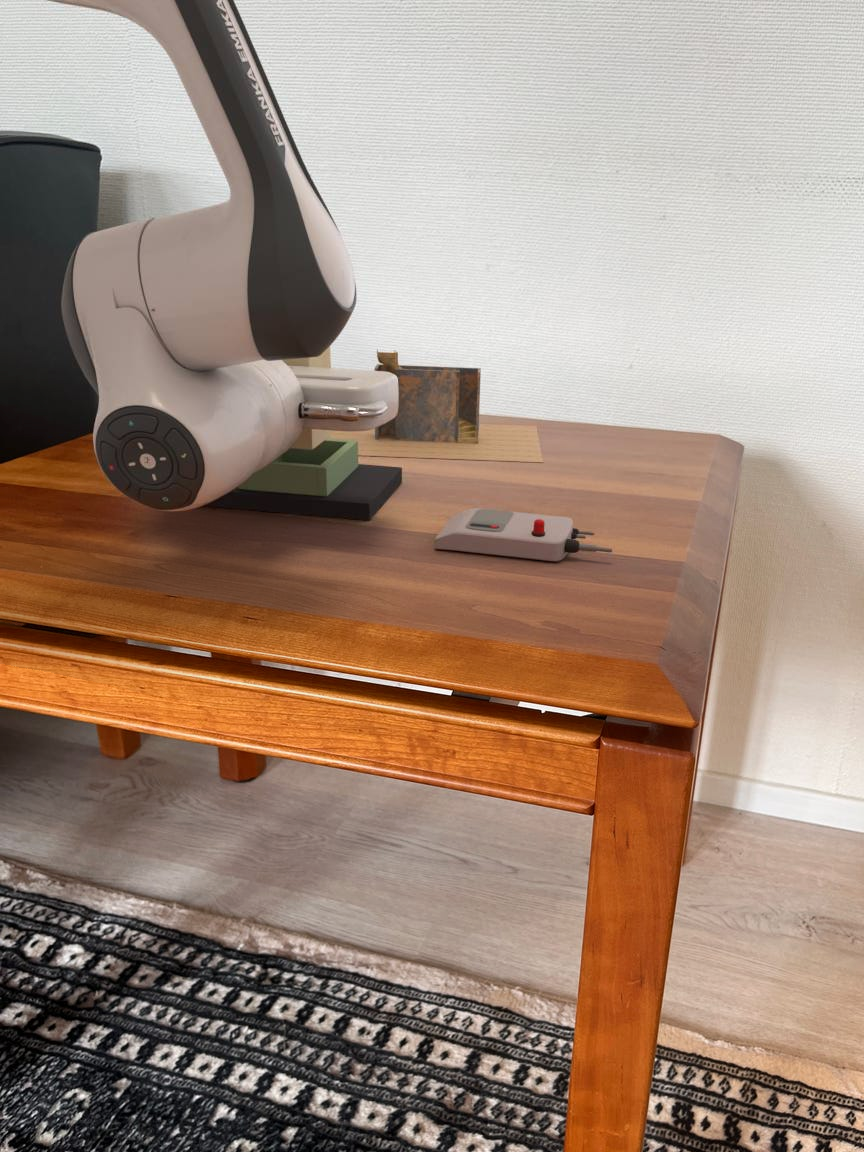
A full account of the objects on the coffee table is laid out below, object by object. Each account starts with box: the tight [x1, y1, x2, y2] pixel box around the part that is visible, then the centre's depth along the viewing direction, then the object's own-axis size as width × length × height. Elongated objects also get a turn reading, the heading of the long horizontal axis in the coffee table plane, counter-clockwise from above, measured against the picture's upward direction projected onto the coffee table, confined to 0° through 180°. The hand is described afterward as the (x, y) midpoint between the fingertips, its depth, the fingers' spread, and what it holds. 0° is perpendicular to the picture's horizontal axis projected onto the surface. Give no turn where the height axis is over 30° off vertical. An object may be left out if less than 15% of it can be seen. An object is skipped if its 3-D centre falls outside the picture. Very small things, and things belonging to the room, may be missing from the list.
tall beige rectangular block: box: [282, 345, 333, 450], centre depth 89 cm, size 4×6×10 cm, turn 170°
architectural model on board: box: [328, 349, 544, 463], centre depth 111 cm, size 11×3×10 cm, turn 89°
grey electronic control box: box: [425, 507, 613, 562], centre depth 82 cm, size 7×16×3 cm, turn 77°
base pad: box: [202, 438, 403, 521], centre depth 92 cm, size 16×12×4 cm
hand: (301, 375), depth 89 cm, fingers closed on tall beige rectangular block, 4 cm apart
